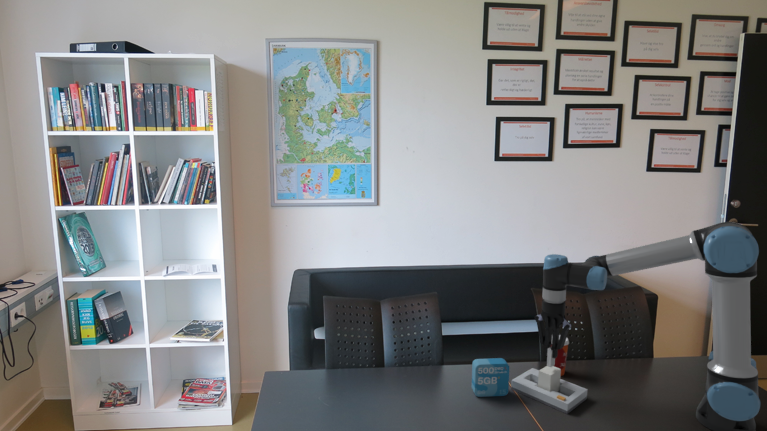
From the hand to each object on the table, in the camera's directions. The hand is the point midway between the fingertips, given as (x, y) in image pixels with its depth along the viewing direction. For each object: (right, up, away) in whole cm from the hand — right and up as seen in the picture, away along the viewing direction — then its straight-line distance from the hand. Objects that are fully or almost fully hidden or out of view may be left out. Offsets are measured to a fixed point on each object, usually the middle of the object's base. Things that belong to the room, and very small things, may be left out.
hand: (550, 365), depth 163 cm
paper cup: (+8, -8, +17) cm, 21 cm away
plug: (+1, -9, +3) cm, 10 cm away
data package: (-21, -11, +2) cm, 23 cm away
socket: (0, -11, +2) cm, 11 cm away
